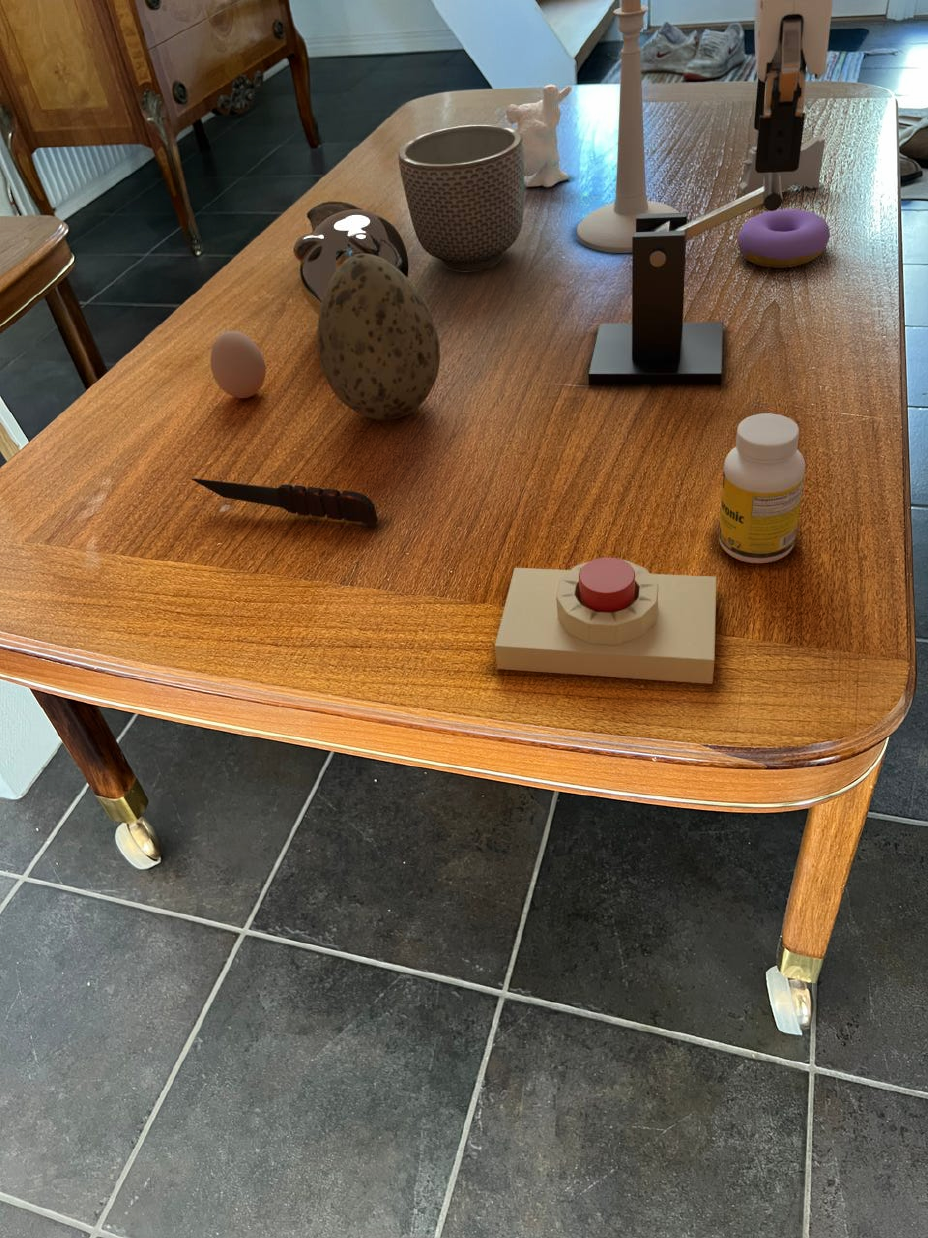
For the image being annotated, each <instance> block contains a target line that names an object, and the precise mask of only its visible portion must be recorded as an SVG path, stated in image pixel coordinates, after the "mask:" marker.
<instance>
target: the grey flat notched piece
mask: <svg viewBox="0 0 928 1238" xmlns="http://www.w3.org/2000/svg"><path fill="white" fill-rule="evenodd" d="M825 145H826V139H825V138H823V137H822V136H817V137H815V136H812V137H811V138H809V139H808V140H807V141H806V142H804V143H802V144H801V152H800V160H799V167H798V169H797V170H796V171H794V172H777V173H779V175H780V178H781V190H782V192H785V190H788V189H791V188H792V187H793V186H794V187H796V186H805V187H806V188H809V189H811V190H812V189H813V188H814V189H819V185H820V178H821V172H822V166H823V165H822V164H823V158H824V151H825ZM756 150H757V145H756V146H752V147H751V149H749V150H748V154H747V155H748V156H747V159H745V160H744V161H741V162H740V164H742V165H745V172H744V178H743V181H742V182H740V184H738V189H739V190H740V192H741V193H742V194H743V196H745V195H747V194H749V193H751V192H753V191H755V190H757V189H759V188H761V187H763V178H764V176H765V175H766V174H767V173H757V172H756V170H755V161H756Z"/></svg>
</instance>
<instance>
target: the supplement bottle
mask: <svg viewBox="0 0 928 1238" xmlns="http://www.w3.org/2000/svg"><path fill="white" fill-rule="evenodd" d="M799 437H800V427H799V425H798V423H797V422H795V421H794V420H793V419H792V418H790V417H788V416H785V415H782V414H778V413H771V412H770V413H769V412H768V413H767V412H766V413H757V414H752V415H750V416H747V417H745V418H744V419H742V420H741V421H740V422H739V423H738V426H737V429H736V439H735V446H734V447H733V448H732V449H731V450H730V451H729V452H728V454H727V455H726V457H725V459H724V462H723V463H724V464H723V471H722V472H723V473H722V488H721V489H722V490H721V503H720V516H719V517H720V518H719V525H718V527H719V528H718V540H719V544H720V546H721V548H722V549H723V551H724V552H725V553H726V554H728V555H729V556H730V557H732V558H734V559H736V560H738V561H741V562H745V563H750V564H766V563H768V564H769V563H772V562H776V561H779V560H781V559H783V558H784V557H786V556H788V554H789V553H791V551H792V549H793V548H794V545H795V543H796V537H797V536H796V535H797V531H798V524H799V515H800V509H801V502H802V494H803V487H804V481H805V476H806V475H805V474H806V460H805V458H804V456H803V454H802V453H801V451H799V449H798V446H799V439H800V438H799Z"/></svg>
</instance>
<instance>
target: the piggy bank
mask: <svg viewBox="0 0 928 1238" xmlns="http://www.w3.org/2000/svg"><path fill="white" fill-rule="evenodd" d="M361 209H362V208H360V209H351V210H345V211H341V212H338V213H335V214H333V215H331V216H329V217H327V218H326V219H325V220H323V221H322V222H321V223H320V224H319V225H318V226H317V227H316V228H315V229H314V230H312V232H311V233H307V234H304V235H302V236H300V237H299V238H297V240H296V241H295V243H294V246H293V250H292V251H293V256H294V257H295V258H296V259H297V261H299V281H300V287H301V290H302V292H303V295H304V298H305V300H306V301H307V303H308V305H309V306H310V307H311V309H312V310H313V312H315V313H316V314H317V315H318V316H319V313H320V307H321V303H322V299H323V296H324V293H325V290H326V288H327V286H328V284H329V281H330V280H331V278H332V276H333V274H334V273H335V271H336V270H337V269H338V267H339V266H340V265H341V264H342V263H343V262H344V261H345V260H347V259H348V258H350V257H351V256H354V255H357V254H372V255H375V256H378V257H380V258H383V259H385V260H386V261H388V262H389V263H391V264H392V265H393V266H395V267H396V268H397V269H399V270H400V271H401V272H402V273H403V274H404V275H405V276H406V277H407V278H408V279H409V257H408V252H407V249H406V245H405V243H404V240H403V238H402V236H401V234H400V232H399V231H398V230H397V228H396V227H395V226H394V225H393V224H392V223H391V222H390V221H389V220H388V219H386V218H385V217H383V216H382V215H381V214H379V213H376V212H374V211H370V210H368V209H367V210H366V209H362V210H361Z"/></svg>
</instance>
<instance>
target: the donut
mask: <svg viewBox="0 0 928 1238" xmlns="http://www.w3.org/2000/svg"><path fill="white" fill-rule="evenodd" d="M830 232H831V230H830V227H829V224H828V223H827V221H826V220H825V219H824V218H823V217H821V216H820V215H819V214H817V213H814V212H812V211H809V210H805V209H799V208H782V209H781V208H779V209H777V210H775V211H769V210H767V211H764V212H762V213H761V212H760V213H759V214H756V215H755V216H753V217H751V218H749V219H748V220H747V221H745V223H744V224H743V225H742V226H741V228H740V231H739V232H738V234H737V236H736V238H737V246H738V249H739V251H740V252H739V253H741V255H742V256H743V257H744V259H746V260H747V261H749V262H750V263H752V264H754V265H757V266H760V267H765V268H770V269H775V268H776V269H777V268H778V269H785V268H794V267H798V266H801V265H802V266H803V265H805V264H807V263H810V262H812V261H814V260H815V259H817V258H819V256H820V255H822V254H823V252H824V251H825V249H826V247H827V246H828V243H829V241H830V238H831V233H830Z"/></svg>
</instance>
